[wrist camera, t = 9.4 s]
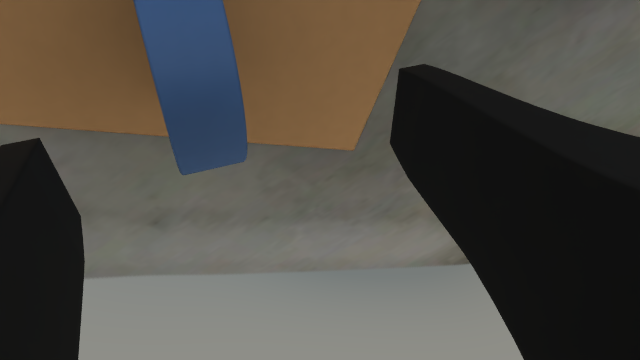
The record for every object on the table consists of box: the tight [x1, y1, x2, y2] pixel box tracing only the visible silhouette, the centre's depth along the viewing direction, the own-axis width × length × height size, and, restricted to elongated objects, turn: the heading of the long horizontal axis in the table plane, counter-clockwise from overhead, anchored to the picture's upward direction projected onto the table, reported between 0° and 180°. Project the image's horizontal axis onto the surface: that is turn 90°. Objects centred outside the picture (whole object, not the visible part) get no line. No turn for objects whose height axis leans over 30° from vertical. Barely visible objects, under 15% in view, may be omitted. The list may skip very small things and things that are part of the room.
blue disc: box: [133, 0, 247, 175], centre depth 14 cm, size 2×7×7 cm, turn 1°
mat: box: [0, 0, 421, 150], centre depth 16 cm, size 20×11×1 cm, turn 71°
